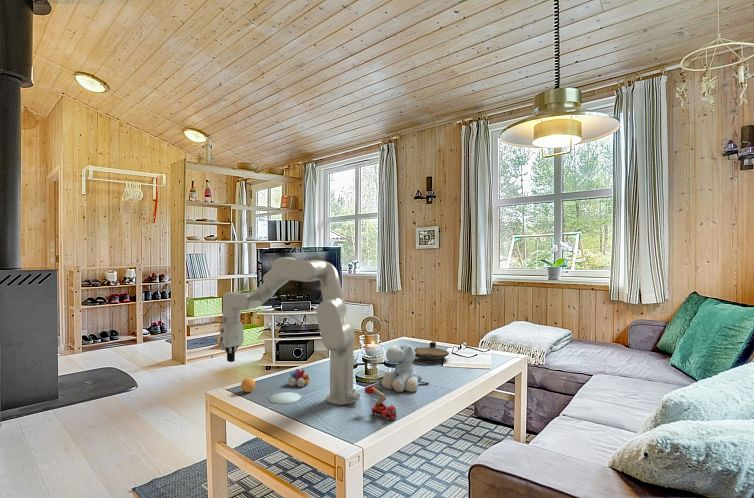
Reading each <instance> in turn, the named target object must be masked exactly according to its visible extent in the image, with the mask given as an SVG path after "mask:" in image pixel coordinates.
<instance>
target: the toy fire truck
mask: <svg viewBox="0 0 754 498" xmlns="http://www.w3.org/2000/svg"><path fill="white" fill-rule="evenodd" d="M364 393H365V394H367V395H373V394H377V395H378V396H379V397H378V399H377V401H376V403H375V404H374V407H372V408H371V414H373V415H374V416H375V417H378V418H384V419H386V420H387V421H394V420H395V419H397V408H396V407H395V406H394V405H392V404H391V405H390V406H388V407H387V405H385V404H384V403H383V402H385V401H386V399H387V396H386V394H385V393H383V392H381V391H379V390H378V389H377V386H376V385H370V386H368V387H364Z"/></svg>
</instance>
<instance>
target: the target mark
mask: <svg viewBox="0 0 754 498" xmlns="http://www.w3.org/2000/svg"><path fill="white" fill-rule="evenodd" d="M301 399H302V395H300V393H296V392H292V391H291V392H290V391H289V392H286V391H285V392H279V393H278V392H277V393H275V394H272V395H271V396H270V397H269V398H268V401H269V402H270V403H272V404H277V405H286V404H287V405H288V404H293V403H296V402H298V401H300V400H301Z"/></svg>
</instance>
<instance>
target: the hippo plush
mask: <svg viewBox="0 0 754 498" xmlns="http://www.w3.org/2000/svg"><path fill="white" fill-rule="evenodd" d="M414 349H415V348H414V347H413V346H412V345H410V344H408V343H407V344H406V343H405V344H402V345H401V346H400V347H398V346H391V347H389V348H388V349H387V350H386V354H385V357H386V360H387V361H388V363H389V362H390V363H391V364H393V365H394V364H396V366H395V369H394V371H390V370H389V371H385V372H384V374H383V378H382V380H381V385H382V387H384V388H385V389H387V390H394V391H395V392H397V393H402V392H404V391H405V392H407V391H409V392H408V393H414V391H415V392H416V391H417V390H418V388H419V383H420V384H424V383H430V382H429V381H428V382H426V381H422V379H423V376H421V374H418V373H417V371H416V370H415V368H414V364H413V362H414V361H415V359H416V357H415V354H416V352H415V350H414ZM418 379H419V380H418Z"/></svg>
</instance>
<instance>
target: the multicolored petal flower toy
mask: <svg viewBox="0 0 754 498" xmlns="http://www.w3.org/2000/svg"><path fill="white" fill-rule="evenodd" d="M305 371H306V370H305V369H302V370H300V369H299V368H296V369H295V370H294V371H291V372H290V373H289V375H290V377H288V381H287V382H288V383H287V384H288V385H289V387H291V388H292V387H295V386H297V387H299V388H303V387H305V385H308V384H309V383H310V380H311V379H310V377H309V374H308V373H307V374H305Z"/></svg>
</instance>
